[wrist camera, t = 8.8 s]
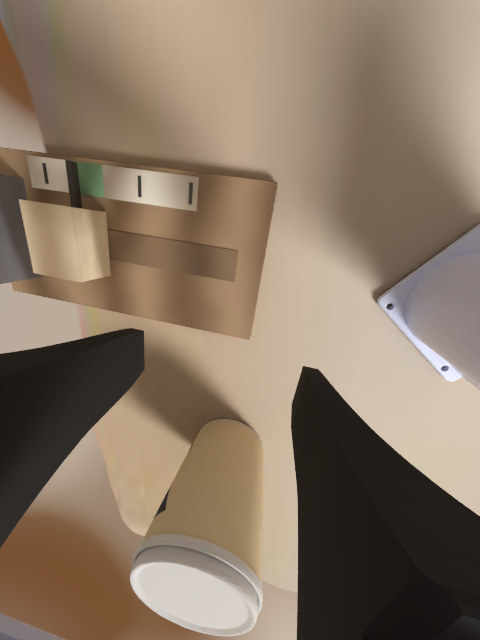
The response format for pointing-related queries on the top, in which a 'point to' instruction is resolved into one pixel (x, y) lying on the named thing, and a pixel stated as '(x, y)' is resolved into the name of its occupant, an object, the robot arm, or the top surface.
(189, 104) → the top surface
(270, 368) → the top surface
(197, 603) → the coffee cup
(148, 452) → the top surface
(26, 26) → the top surface
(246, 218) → the gauge base
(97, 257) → the gauge slider
